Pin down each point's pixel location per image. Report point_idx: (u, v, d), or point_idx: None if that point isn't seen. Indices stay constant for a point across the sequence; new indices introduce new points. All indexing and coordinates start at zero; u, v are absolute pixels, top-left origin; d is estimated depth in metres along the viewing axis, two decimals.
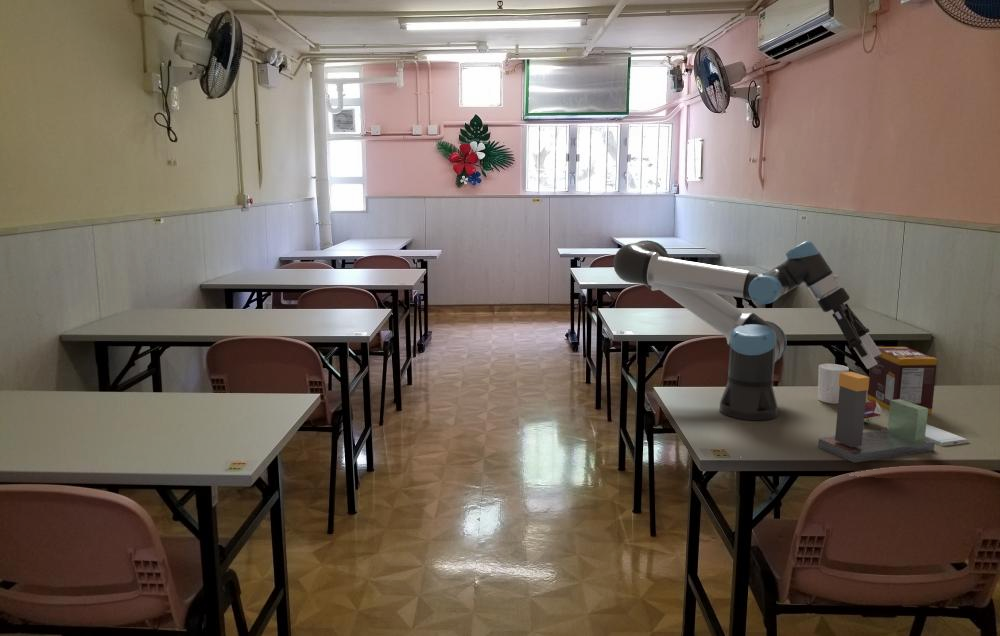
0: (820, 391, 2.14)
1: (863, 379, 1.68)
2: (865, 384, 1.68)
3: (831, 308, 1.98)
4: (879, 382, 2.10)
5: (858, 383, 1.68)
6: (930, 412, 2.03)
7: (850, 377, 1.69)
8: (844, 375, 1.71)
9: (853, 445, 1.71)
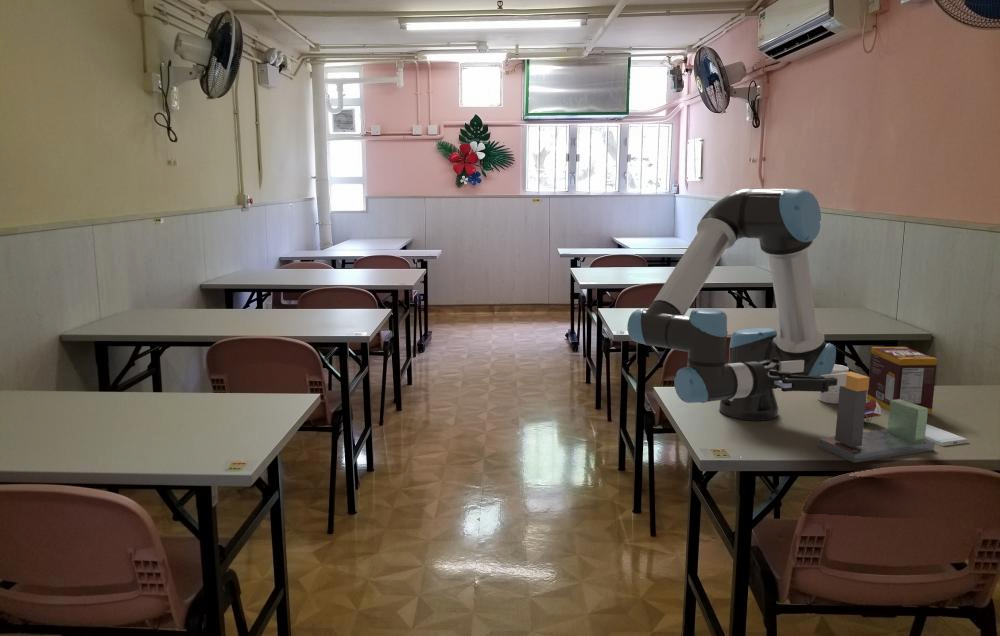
0: None
1: (863, 379, 1.68)
2: (865, 384, 1.68)
3: None
4: (879, 382, 2.10)
5: (858, 383, 1.68)
6: (930, 412, 2.03)
7: (850, 377, 1.69)
8: None
9: (853, 445, 1.71)
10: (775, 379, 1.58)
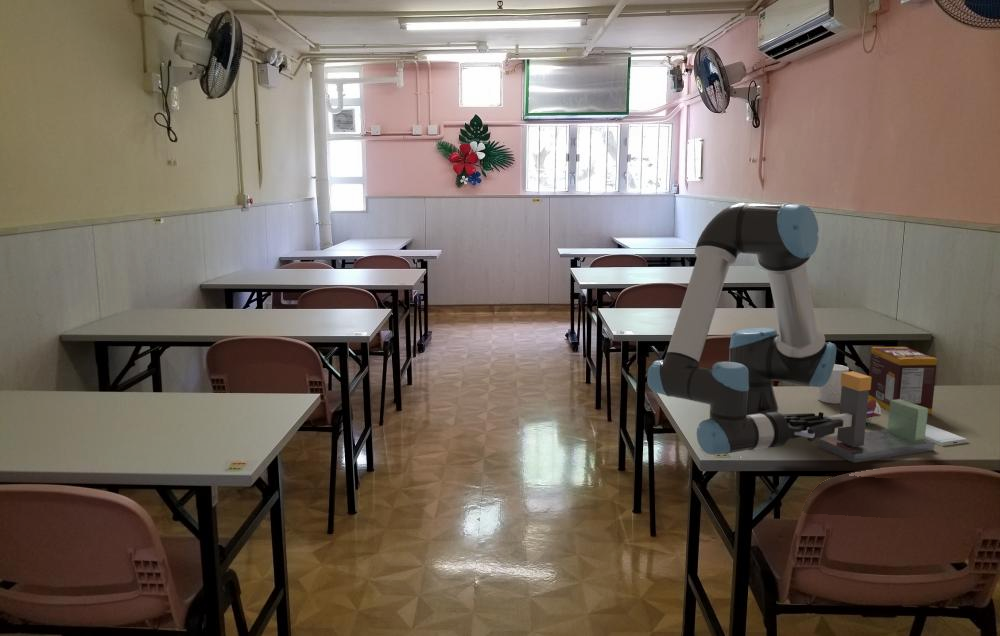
0: (820, 391, 2.14)
1: (865, 379, 1.68)
2: (867, 384, 1.69)
3: None
4: (879, 382, 2.10)
5: (860, 383, 1.68)
6: (930, 412, 2.03)
7: (852, 377, 1.69)
8: (846, 375, 1.71)
9: (855, 445, 1.71)
10: (795, 430, 1.61)
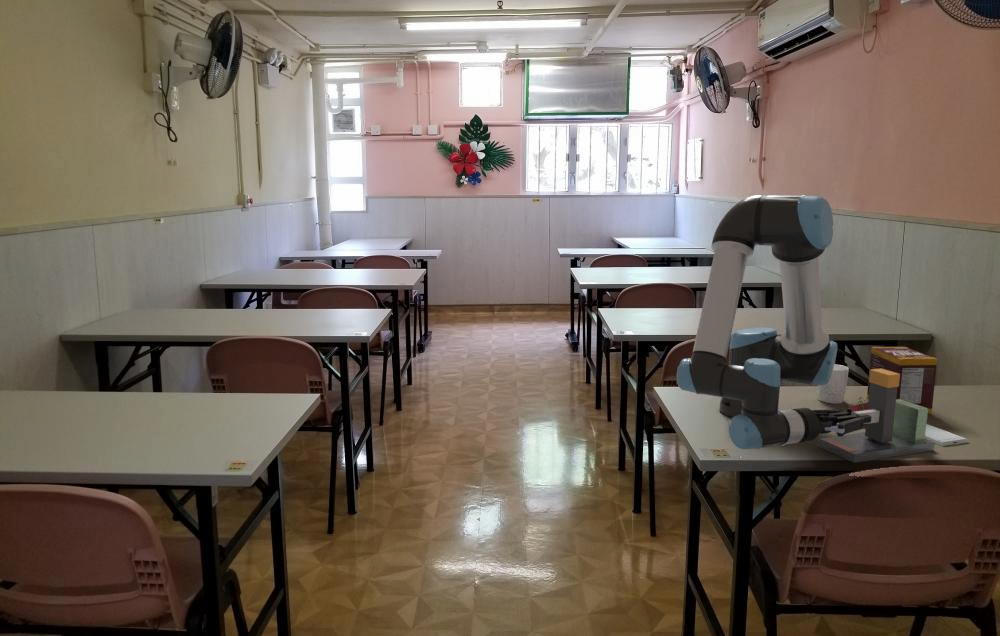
0: (820, 391, 2.14)
1: (894, 376, 1.71)
2: (896, 381, 1.71)
3: None
4: None
5: (889, 380, 1.71)
6: (930, 412, 2.03)
7: (881, 374, 1.72)
8: (875, 372, 1.74)
9: (883, 441, 1.74)
10: (826, 426, 1.64)
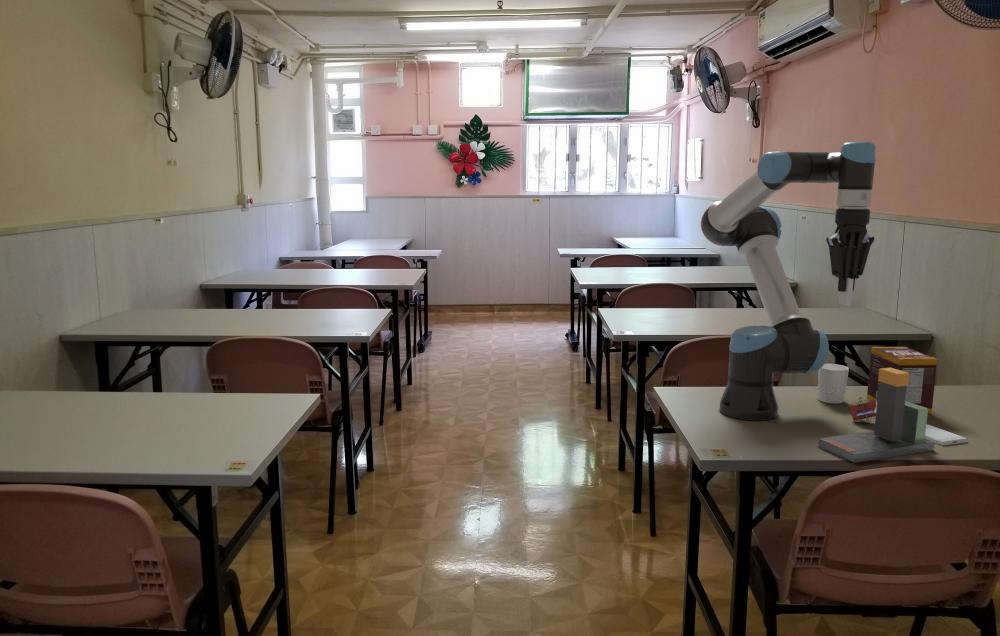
0: (820, 391, 2.14)
1: (903, 375, 1.72)
2: (905, 380, 1.72)
3: (836, 222, 1.80)
4: None
5: (898, 379, 1.71)
6: (930, 412, 2.03)
7: (890, 373, 1.73)
8: (884, 371, 1.75)
9: (893, 439, 1.75)
10: None
